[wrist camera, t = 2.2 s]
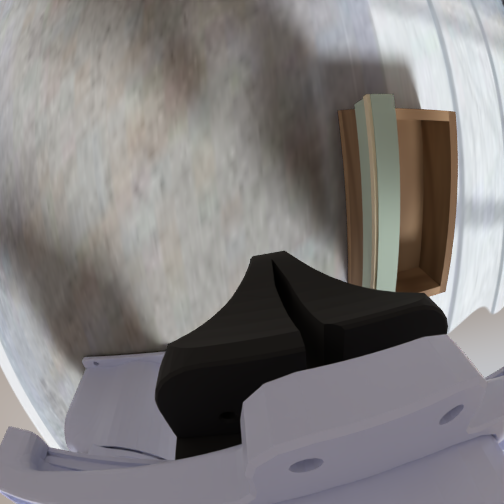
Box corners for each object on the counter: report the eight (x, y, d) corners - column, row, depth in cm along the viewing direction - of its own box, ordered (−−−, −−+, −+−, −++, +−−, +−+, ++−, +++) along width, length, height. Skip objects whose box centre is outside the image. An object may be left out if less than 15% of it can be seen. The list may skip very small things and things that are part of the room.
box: (347, 285, 21) (367, 313, 18) (337, 110, 16) (362, 108, 13) (420, 268, 21) (445, 291, 18) (421, 110, 16) (455, 111, 13)
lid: (369, 320, 17) (358, 321, 17) (366, 104, 12) (352, 104, 12) (371, 418, 11) (356, 418, 11) (393, 93, 6) (366, 94, 6)
